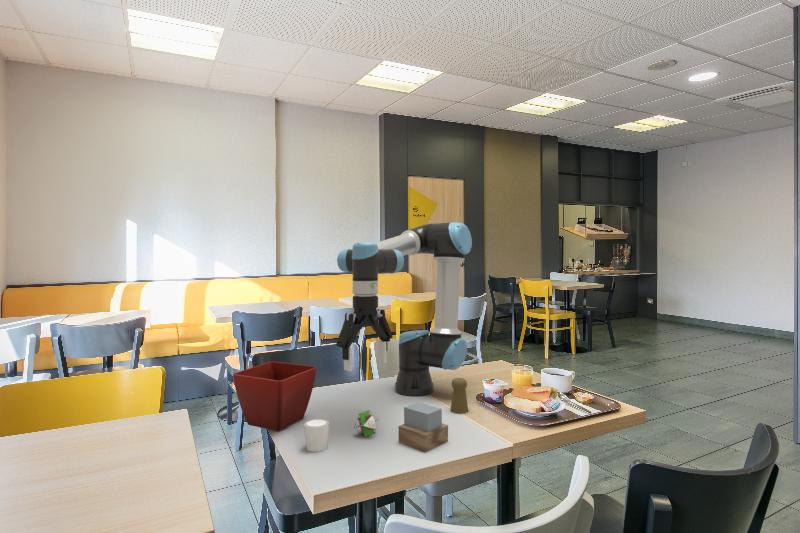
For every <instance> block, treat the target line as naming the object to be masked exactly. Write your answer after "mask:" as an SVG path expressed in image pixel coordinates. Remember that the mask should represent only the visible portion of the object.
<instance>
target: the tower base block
mask: <svg viewBox="0 0 800 533" xmlns="http://www.w3.org/2000/svg"><path fill="white" fill-rule="evenodd" d="M397 428H398V443H400V444H402V445H404V446H407V447H410V448H413V449H415V450H418V451H421V452H423V453H427V452H429V451H432V450H433V449H435V448H437V447H440V446H441V445H443V444H445V443H448V442H449V424H446V423H443V422H442V426H441V427H439V428H437V429H435V430H432V431H430V432H426V431H423V430H420V429H417V428H414V427H411V426H408V425H405V424H404V423H402V424H400V425H398V427H397Z"/></svg>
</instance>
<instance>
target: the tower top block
mask: <svg viewBox="0 0 800 533" xmlns="http://www.w3.org/2000/svg"><path fill="white" fill-rule="evenodd" d="M442 411H443V410H442V408H440V407H437V406H434V405H429V404H425V403H423V402H419V401H417V402H415V403H411V404H409V405H406V406H403V424H405V425H408V426H411V427H414V428H417V429H420V430H423V431H426V432H430V431H432V430H435V429H437V428H439V427H441V426H442V423H443V416H442V414H443V412H442Z"/></svg>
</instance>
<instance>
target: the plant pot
mask: <svg viewBox="0 0 800 533" xmlns="http://www.w3.org/2000/svg"><path fill="white" fill-rule="evenodd" d="M316 374H317V366H313V365H305V364H296V363H289V362H281V361H268V362H265V363H262V364H258V365H256V366H251V367H248V368H245V369H243V370H240V371H235V372H234V373H232V378H233V384H234V387H235V388H234V389H235V393H236V397H237V400H238V403H239V406H240V408H241V412H242V414H243V416H244V420H245V421H246V423H247V425H248V426H251V427H257V428H260V429H261V428H262V429H265V430H266V429H267V430H271V431H277V432H279V431H283V430H284V429H286V428H288V427H290V426H292V425H293V424H296V423H298V422H300V421H301V420H303V419H304V417H305V414H306V412H307V409H308V406H309V402H310V399H311V396H312V392H313V389H314V384H315V380H316Z"/></svg>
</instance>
